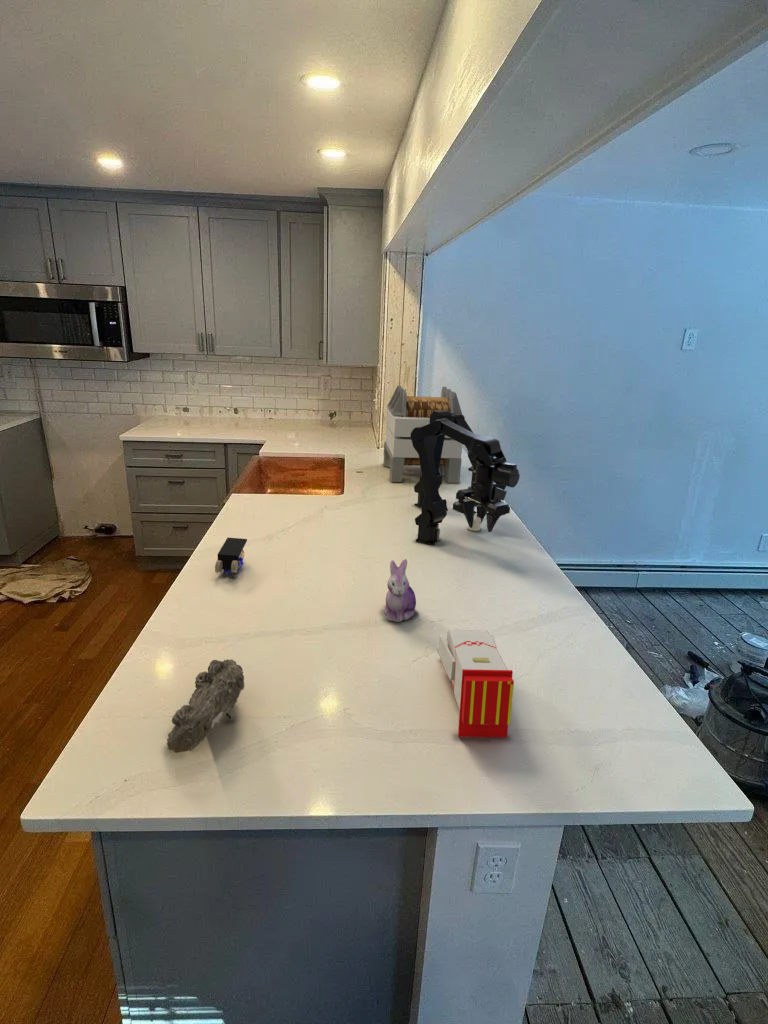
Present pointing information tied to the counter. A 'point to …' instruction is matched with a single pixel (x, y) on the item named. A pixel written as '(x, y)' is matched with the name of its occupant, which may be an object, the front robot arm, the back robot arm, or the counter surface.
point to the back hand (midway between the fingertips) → (474, 526)
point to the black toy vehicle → (230, 556)
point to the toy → (478, 682)
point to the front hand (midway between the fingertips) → (479, 527)
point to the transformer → (412, 414)
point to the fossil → (206, 705)
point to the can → (476, 524)
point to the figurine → (399, 594)
